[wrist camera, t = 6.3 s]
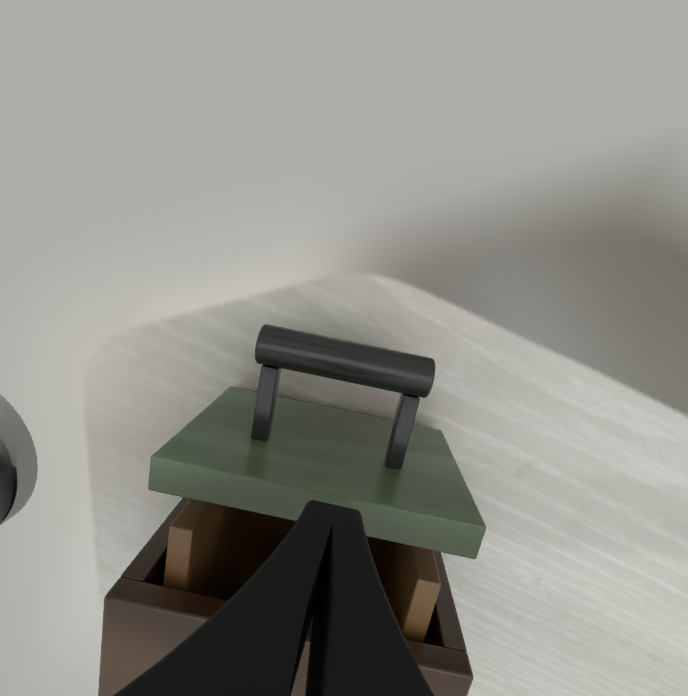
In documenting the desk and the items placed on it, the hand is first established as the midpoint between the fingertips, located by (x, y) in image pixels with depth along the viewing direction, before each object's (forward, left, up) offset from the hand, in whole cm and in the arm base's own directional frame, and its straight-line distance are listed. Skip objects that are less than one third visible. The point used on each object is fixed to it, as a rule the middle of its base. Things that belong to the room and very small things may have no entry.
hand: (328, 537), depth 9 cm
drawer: (+1, -3, -8) cm, 9 cm away
